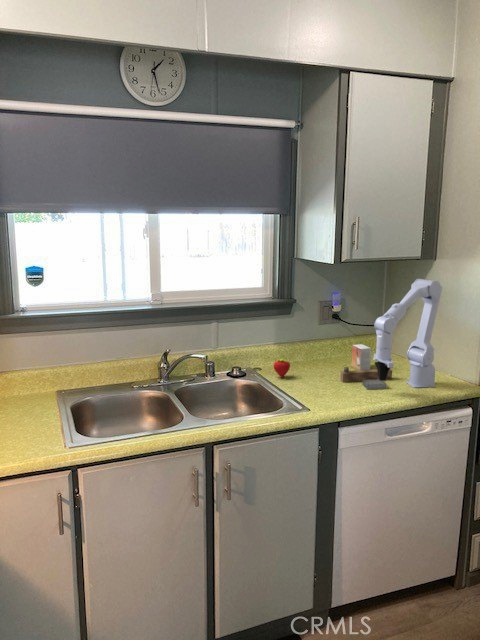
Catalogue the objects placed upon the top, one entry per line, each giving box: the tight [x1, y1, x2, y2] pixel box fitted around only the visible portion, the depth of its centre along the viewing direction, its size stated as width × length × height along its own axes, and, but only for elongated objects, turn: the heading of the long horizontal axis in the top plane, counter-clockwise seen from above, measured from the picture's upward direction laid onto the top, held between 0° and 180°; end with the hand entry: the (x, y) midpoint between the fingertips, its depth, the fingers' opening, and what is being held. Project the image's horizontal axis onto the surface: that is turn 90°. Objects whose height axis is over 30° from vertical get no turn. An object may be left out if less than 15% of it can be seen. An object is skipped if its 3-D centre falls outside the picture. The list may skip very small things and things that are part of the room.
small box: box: [350, 343, 372, 370], centre depth 246 cm, size 8×6×10 cm
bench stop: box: [339, 366, 393, 383], centre depth 229 cm, size 22×3×6 cm, turn 98°
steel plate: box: [361, 379, 387, 390], centre depth 221 cm, size 8×6×2 cm
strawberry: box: [272, 355, 291, 378], centre depth 234 cm, size 6×8×10 cm
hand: (382, 380), depth 212 cm, fingers closed
